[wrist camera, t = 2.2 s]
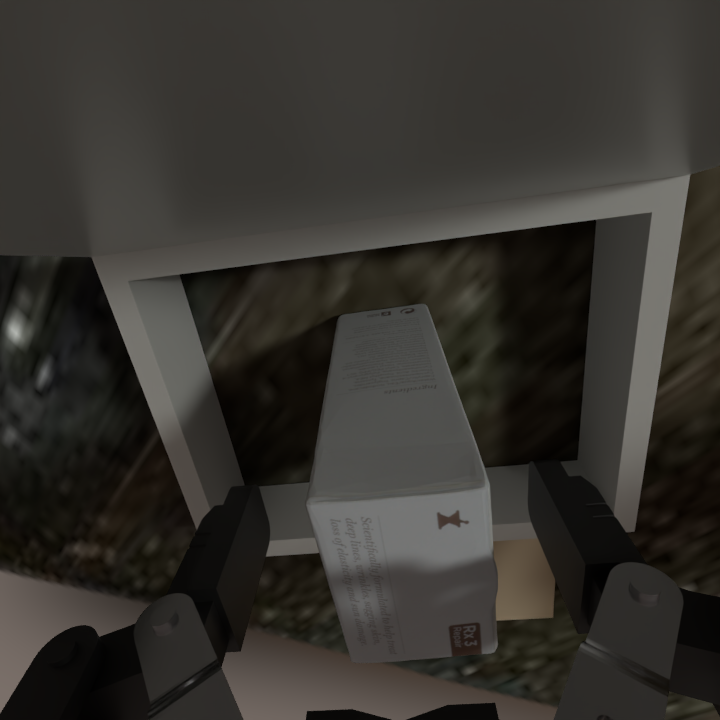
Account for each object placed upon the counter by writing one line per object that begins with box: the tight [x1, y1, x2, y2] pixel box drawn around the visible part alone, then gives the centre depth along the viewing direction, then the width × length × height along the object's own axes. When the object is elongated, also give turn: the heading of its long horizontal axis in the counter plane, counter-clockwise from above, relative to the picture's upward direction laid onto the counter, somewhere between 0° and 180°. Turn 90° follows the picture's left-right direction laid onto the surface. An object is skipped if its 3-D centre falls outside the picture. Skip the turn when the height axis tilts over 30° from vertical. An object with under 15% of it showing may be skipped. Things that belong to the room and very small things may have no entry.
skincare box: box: [305, 304, 498, 663], centre depth 16 cm, size 6×4×12 cm
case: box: [92, 175, 690, 557], centre depth 20 cm, size 20×15×4 cm
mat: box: [493, 538, 555, 621], centre depth 27 cm, size 10×9×1 cm
